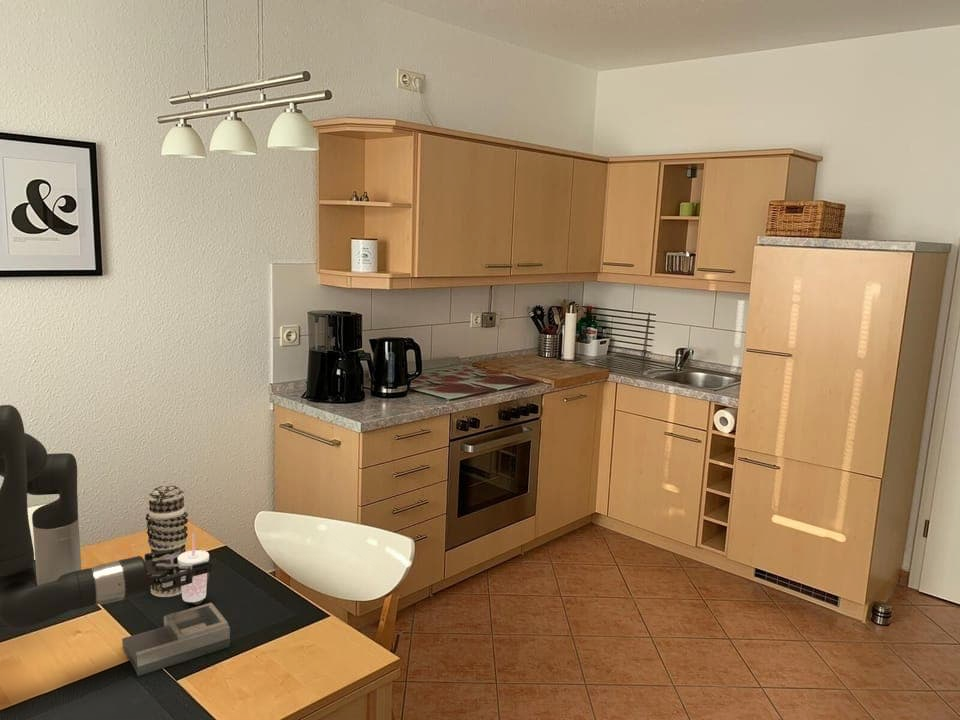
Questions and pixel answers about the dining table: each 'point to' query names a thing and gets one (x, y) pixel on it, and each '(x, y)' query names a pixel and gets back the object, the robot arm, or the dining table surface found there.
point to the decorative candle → (166, 526)
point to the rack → (178, 639)
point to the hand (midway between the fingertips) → (205, 560)
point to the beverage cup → (199, 582)
